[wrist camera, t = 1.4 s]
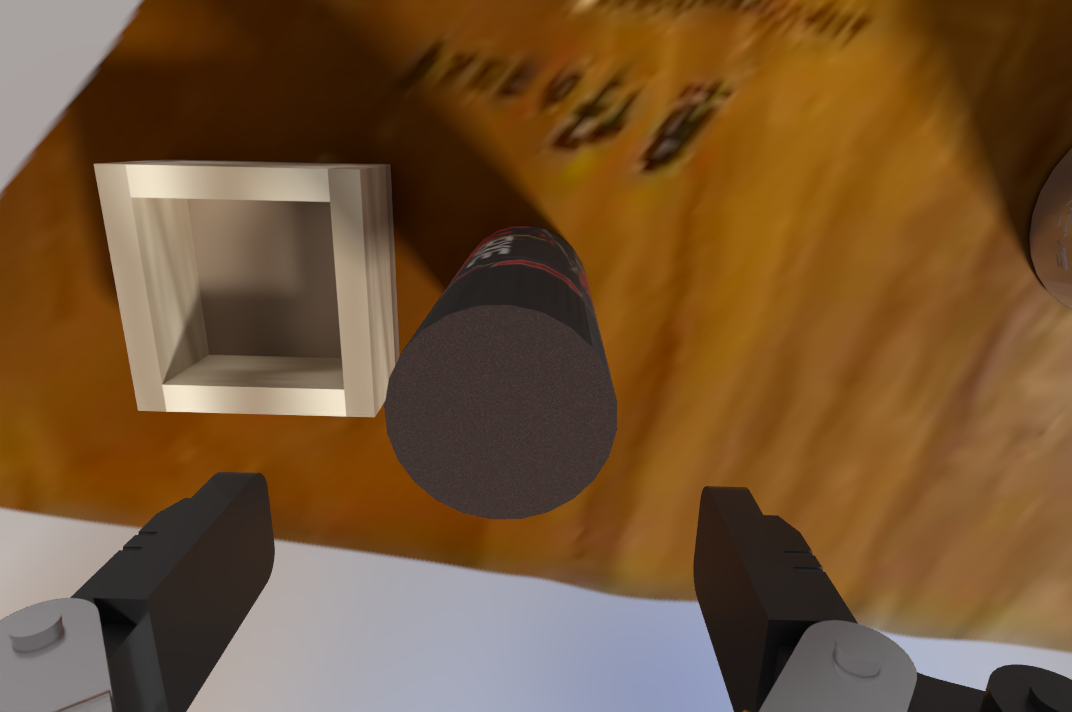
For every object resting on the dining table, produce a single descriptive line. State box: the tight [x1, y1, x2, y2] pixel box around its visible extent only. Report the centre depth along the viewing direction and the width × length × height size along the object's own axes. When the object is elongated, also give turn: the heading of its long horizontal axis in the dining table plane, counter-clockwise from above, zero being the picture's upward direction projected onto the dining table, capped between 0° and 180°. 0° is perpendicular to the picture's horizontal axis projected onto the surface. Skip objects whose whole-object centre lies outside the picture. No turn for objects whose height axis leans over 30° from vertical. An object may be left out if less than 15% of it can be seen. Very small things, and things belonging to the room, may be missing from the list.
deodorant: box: [384, 226, 617, 519], centre depth 24 cm, size 6×6×15 cm
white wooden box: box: [94, 159, 400, 417], centre depth 29 cm, size 10×10×5 cm
